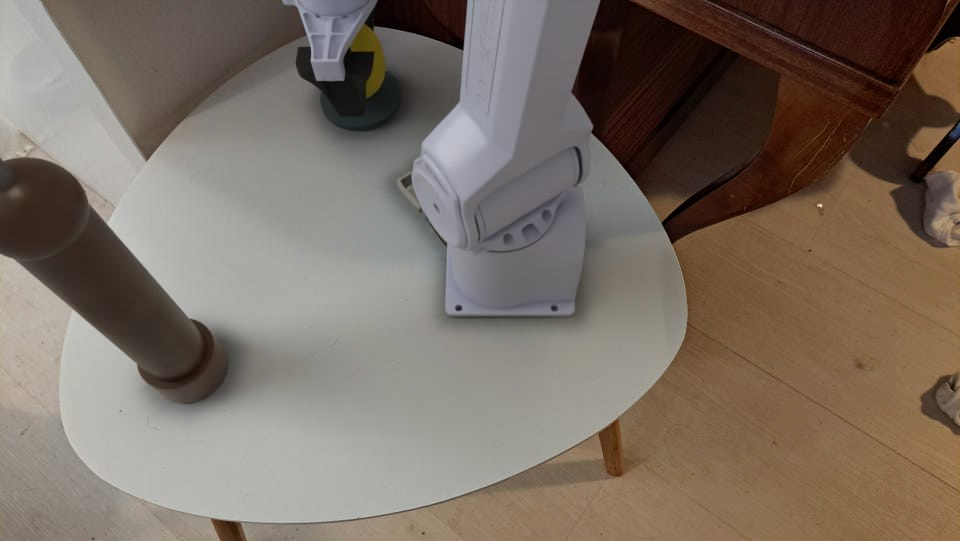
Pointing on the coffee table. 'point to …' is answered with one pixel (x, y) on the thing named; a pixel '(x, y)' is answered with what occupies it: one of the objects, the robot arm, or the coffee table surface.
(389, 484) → the coffee table surface
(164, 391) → the pepper mill
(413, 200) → the strap clip
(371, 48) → the lemon
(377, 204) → the coffee table surface
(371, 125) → the coaster
